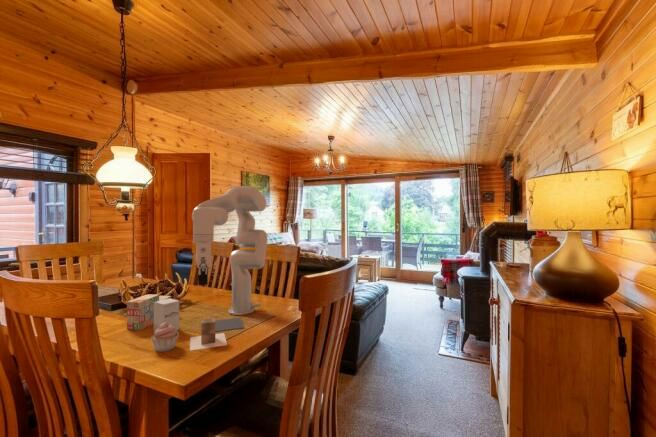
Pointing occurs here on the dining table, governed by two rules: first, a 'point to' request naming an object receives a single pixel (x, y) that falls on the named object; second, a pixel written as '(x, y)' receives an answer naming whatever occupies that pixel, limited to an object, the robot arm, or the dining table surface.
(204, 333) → the walnut block
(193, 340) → the tile
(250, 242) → the robot arm
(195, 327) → the dining table surface
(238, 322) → the mat
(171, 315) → the supplement box
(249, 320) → the dining table surface
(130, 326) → the white printed carton
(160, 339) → the cupcake
